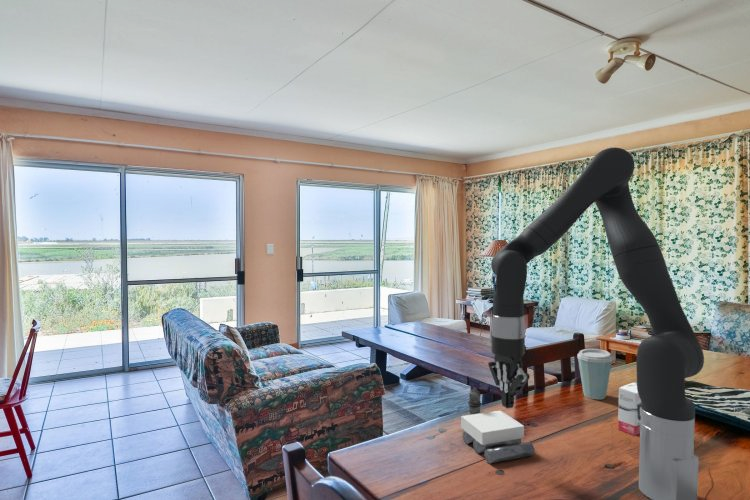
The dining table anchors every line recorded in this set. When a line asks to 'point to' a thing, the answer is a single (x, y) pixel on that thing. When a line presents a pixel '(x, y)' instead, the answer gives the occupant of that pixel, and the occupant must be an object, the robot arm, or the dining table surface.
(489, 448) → the roller track
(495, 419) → the slab
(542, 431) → the dining table surface
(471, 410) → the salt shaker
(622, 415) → the ink box
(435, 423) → the dining table surface
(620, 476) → the dining table surface
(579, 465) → the dining table surface
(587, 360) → the disposable coffee cup
